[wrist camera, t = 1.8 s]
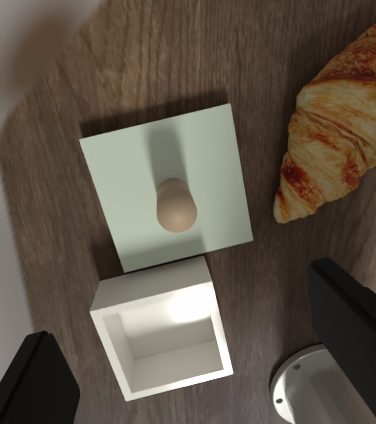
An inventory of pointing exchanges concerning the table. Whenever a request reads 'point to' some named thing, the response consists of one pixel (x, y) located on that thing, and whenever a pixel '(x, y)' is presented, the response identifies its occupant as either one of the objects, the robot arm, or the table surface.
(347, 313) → the robot arm
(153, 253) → the lid
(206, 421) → the table surface
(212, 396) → the table surface
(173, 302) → the dish
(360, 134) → the croissant
